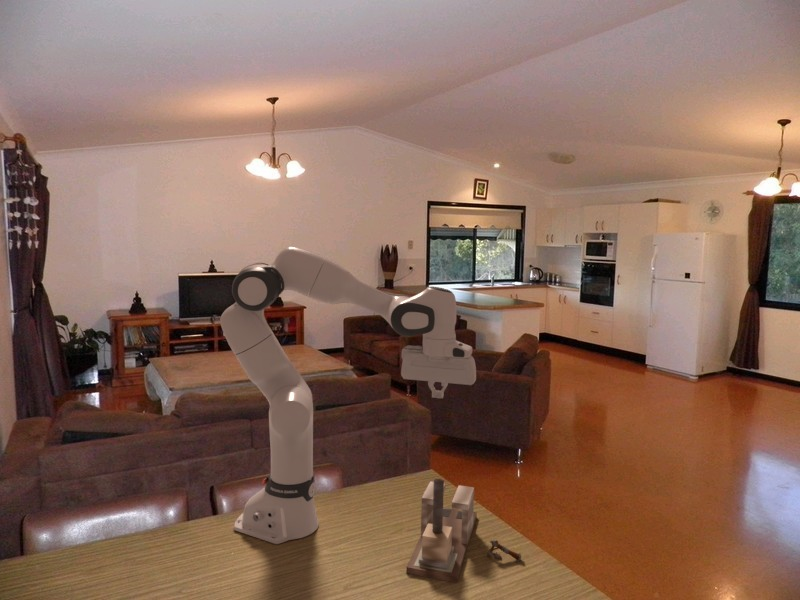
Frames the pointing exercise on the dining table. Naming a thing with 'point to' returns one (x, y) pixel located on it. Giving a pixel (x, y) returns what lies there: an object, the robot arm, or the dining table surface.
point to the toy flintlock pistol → (504, 549)
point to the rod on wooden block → (437, 534)
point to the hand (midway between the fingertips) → (437, 397)
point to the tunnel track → (461, 532)
